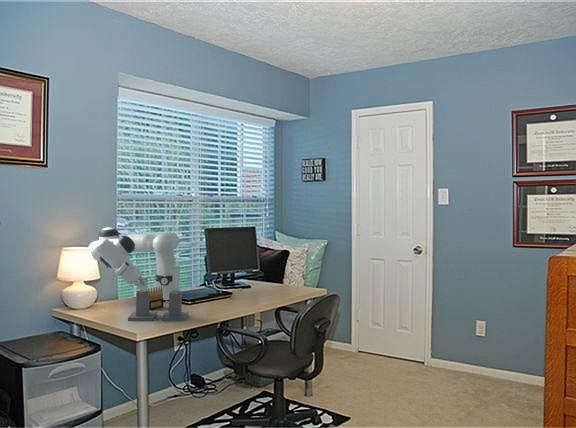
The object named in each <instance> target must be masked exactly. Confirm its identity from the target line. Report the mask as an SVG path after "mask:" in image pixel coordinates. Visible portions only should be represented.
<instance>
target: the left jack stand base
mask: <svg viewBox="0 0 576 428" xmlns="http://www.w3.org/2000/svg"><path fill="white" fill-rule="evenodd" d="M135 304H136V305H135V311H132V312H131V314H130V315H129V316H128V317H127V321H130V322H131V321H132V322H138V321H139V322H141V321H142V322H144V321H145V322H146V321H147V322H154V320H155V318H156V316H157V315H158V314H157V311H150V310H149V304H150V291H148V290H147V292H146V293H140V290H138V291H137V292H136V294H135Z"/></svg>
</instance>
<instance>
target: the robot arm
mask: <svg viewBox="0 0 576 428" xmlns="http://www.w3.org/2000/svg"><path fill="white" fill-rule="evenodd" d="M179 245H180V237H179V236H178V234H176V233H174V232H171V231H170V232H169V231H168V232H155V233H154V232H152V233H131V234H130V233H129V234H125V235H122V233H121V232H119V230H118V229H116V228H115V227H109V226H108V227H104V228H102V229H100V230H99V231H98V240H94V241H92V242H91V243H90V244H89V245H88V247H87V249H88V248H90V249H91V254H92V256H93V258H94V259H93V258H92V259H93V260H95V261H98V262H101V263H102V264H104V266H105V267H106V268H107V269H113V270H114V272H115V274H116V275H117V276H120V278H121V279H122V280H124V282H126V283H127V284H128V285H130V286H131V285H135V286H136V287H137V288H139V290H140V289H141V288H142V287H143V285H142V284H140V278H144V277H143V272H142V271H141V270H140V269H139V268H138V267H137V266H136V265H134V262H133V261H132V260H131V258H129V257H128V256H129V254H131V253H151V252H154V254H155V261H156V274H155V277H154V278H155V282H154V283H152V289H153V288H155V289H156V287H157V290H158V287H160V289H161V286H162V289H163V301H169V293H170V291H172V279H173V266H176V264H177V261H176V259H175V255H174V250H175V249H177V248H178V246H179ZM152 293H153V291H152Z"/></svg>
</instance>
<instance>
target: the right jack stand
mask: <svg viewBox="0 0 576 428" xmlns="http://www.w3.org/2000/svg"><path fill="white" fill-rule="evenodd" d="M182 294H183V291H181V290H180V266H178V265H177V266H173V279H172V291H170V293H169V300H168V311H164V312H163V314H162V316H161V319H160V320H161V321H162V322H164V321H165V322H169V321H170V322H182V321H181V320H186V321H187V319H188V317H189V312H188V311H182V297H183V295H182Z"/></svg>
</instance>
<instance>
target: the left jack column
mask: <svg viewBox="0 0 576 428" xmlns="http://www.w3.org/2000/svg"><path fill="white" fill-rule="evenodd" d="M139 283H140V284H142V285H143V287H142V288H141V289H140V288H139V291H140V293H146V292H147V291H148V287H147V286H148V277H143V278H140V281H139Z"/></svg>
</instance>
